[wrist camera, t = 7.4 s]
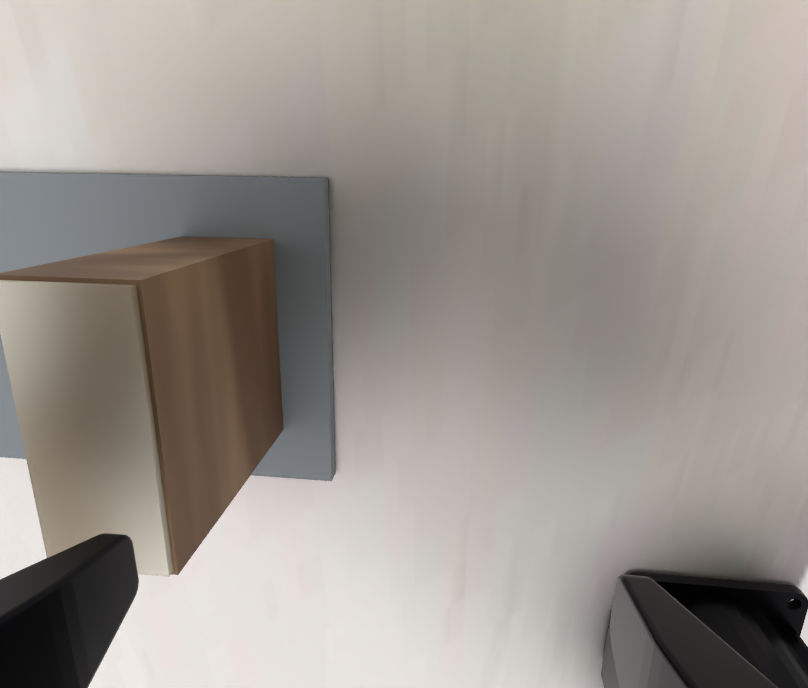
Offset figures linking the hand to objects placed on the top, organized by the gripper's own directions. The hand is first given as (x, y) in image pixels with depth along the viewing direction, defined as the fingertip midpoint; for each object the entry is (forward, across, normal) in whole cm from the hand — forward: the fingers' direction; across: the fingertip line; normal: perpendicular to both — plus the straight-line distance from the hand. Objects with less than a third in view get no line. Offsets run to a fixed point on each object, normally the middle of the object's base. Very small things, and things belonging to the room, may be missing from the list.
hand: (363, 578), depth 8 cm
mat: (+12, +10, 0) cm, 16 cm away
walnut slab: (+11, +7, 0) cm, 13 cm away
